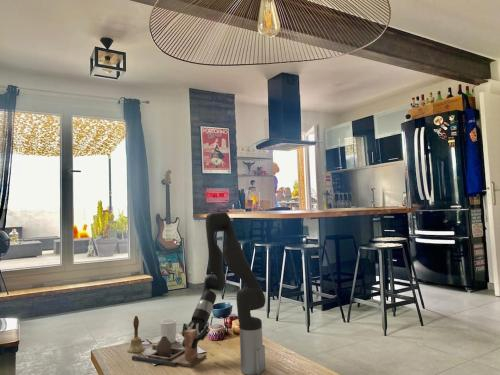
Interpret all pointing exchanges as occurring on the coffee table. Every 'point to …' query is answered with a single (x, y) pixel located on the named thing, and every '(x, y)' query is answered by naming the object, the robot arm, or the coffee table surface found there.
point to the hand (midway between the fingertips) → (188, 347)
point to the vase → (164, 347)
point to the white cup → (169, 329)
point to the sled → (183, 352)
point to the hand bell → (136, 339)
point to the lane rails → (152, 360)
